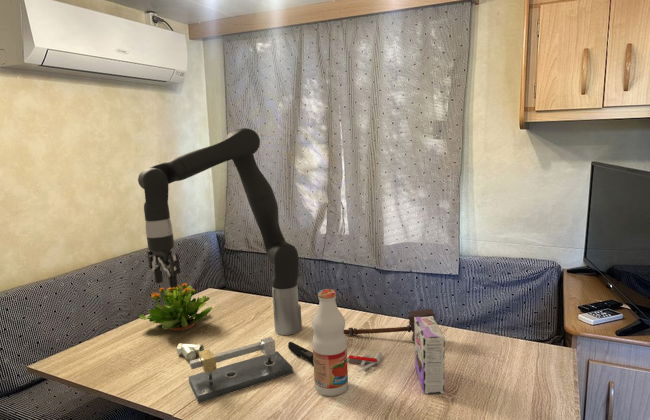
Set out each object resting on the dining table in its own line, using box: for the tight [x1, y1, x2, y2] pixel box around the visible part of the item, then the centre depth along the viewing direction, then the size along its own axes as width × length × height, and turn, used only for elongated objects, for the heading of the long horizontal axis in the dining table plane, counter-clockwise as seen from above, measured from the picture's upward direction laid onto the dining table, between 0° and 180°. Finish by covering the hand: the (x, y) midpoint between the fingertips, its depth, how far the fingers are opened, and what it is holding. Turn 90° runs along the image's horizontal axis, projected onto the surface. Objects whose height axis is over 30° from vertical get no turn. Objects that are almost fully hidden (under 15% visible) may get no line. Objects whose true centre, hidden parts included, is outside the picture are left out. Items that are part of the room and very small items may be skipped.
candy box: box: [414, 316, 446, 395], centre depth 122 cm, size 14×6×16 cm, turn 178°
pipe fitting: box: [176, 342, 205, 362], centre depth 144 cm, size 8×4×7 cm
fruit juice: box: [311, 288, 349, 397], centre depth 120 cm, size 9×9×28 cm
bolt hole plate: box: [188, 350, 294, 404], centre depth 129 cm, size 28×12×2 cm, turn 119°
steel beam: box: [189, 336, 276, 370], centre depth 129 cm, size 24×6×7 cm, turn 119°
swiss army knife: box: [347, 351, 383, 373], centre depth 134 cm, size 12×14×2 cm
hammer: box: [344, 308, 436, 342], centre depth 149 cm, size 7×33×10 cm, turn 73°
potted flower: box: [139, 282, 213, 332], centre depth 168 cm, size 25×24×18 cm
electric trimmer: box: [287, 341, 314, 367], centre depth 140 cm, size 4×16×3 cm, turn 39°
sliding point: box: [198, 348, 217, 380], centre depth 126 cm, size 3×7×7 cm, turn 29°
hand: (166, 284), depth 135 cm, fingers open, 8 cm apart
